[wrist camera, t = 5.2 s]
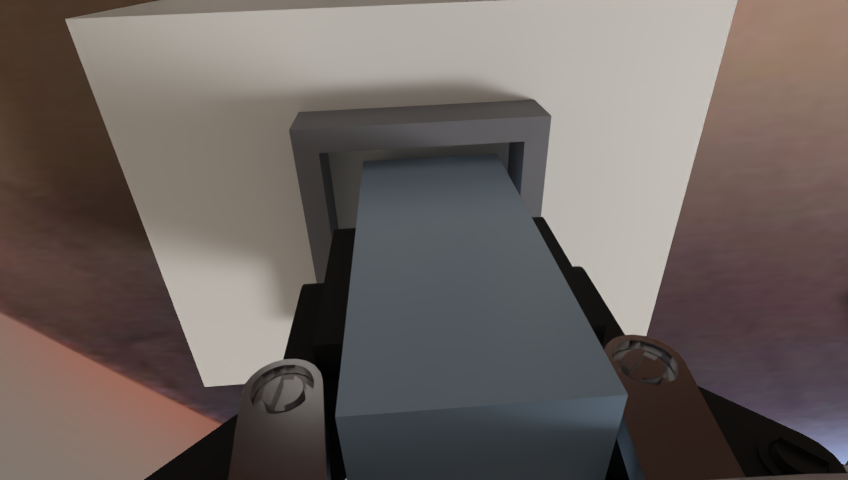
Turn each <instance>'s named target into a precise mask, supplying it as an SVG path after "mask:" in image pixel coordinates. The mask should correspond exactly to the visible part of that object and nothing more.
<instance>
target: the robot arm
mask: <svg viewBox="0 0 848 480" xmlns="http://www.w3.org/2000/svg"><path fill="white" fill-rule="evenodd" d="M532 219H533V221H534V223H535V224H536V226H537V228H538V230H539V232H540V234H541V236H542V237H543V239H544V241H545V243H546V245H547V247H548V248H549V250H550V252H551V254H552V256H553V258H554V259H555V261H556V263H557V265H558V267H559V269H560V270H561V272H562V274H563V276H564V278H565V280H566V281H567V283H568V285H569V287H570V289H571V291H572V292H573V294H574V296H575V298H576V300H577V302H578V304H579V305H580V307H581V309H582V311H583V313H584V315H585V316H586V318H587V320H588V322H589V324H590V326H591V327H592V329H593V331H594V333H595V335H596V337H597V338H598V340H599V342H600V344H601V346H602V348H603V349H604V351H605V353H606V355H607V357H608V359H609V361H610V362H611V364H612V366H613V368H614V370H615V372H616V373H617V375H618V377H619V379H620V381H621V383H622V384H623V386H624V388H625V390H626V392H627V394H628V397H627V401H626V404H625V408H624V412H623V415H622V419H621V422H620V426H619V430H618V433H617V437H616V441H615V444H614V448H613V451H612V455H611V459H610V462H609V466H608V470H607V473H606V477H605V480H848V461H847V463H846V464H845V465H843V464H841V463H840V462H839V460H838V459H837V458H836V457H835V456H834V455H833V454H832V453H831V452H829V451H828V450H827V449H826V448H824V447H823V446H822V445H821V444H819V443H818V442H816V441H814V440H812V439H810V438H809V437H807V436H805V435H803V434H801V433H799V432H797V431H795V430H792V429H790V428H788V427H786V426H784V425H782V424H779V423H777V422H775V421H773V420H771V419H768V418H766V417H764V416H762V415H760V414H758V413H755V412H753V411H751V410H749V409H747V408H745V407H742V406H740V405H738V404H736V403H734V402H731V401H729V400H727V399H725V398H723V397H721V396H718V395H716V394H714V393H712V392H710V391H708V390H705V389H703V388H701V387H699V386H697V384H696V382H695V380H694V379H693V377H692V375H691V373H690V371H689V369H688V367H687V365H686V363H685V362H684V360H683V359H682V358H681V356H680V355H679V354H678V353H677V352H676V351H674V350H673V349H672V348H671V347H670V346H668V345H666V344H664V343H662V342H660V341H659V340H656V339H653V338H650V337H647V336H641V335H625V334H624V332H623V331H622V329H621V327H620V326H619V324H618V323H617V321H616V319H615V318H614V316H613V315H612V313H611V311H610V310H609V308H608V307H607V305H606V303H605V302H604V300H603V298H602V297H601V295H600V294H599V292H598V290H597V289H596V287H595V286H594V284H593V282H592V281H591V279H590V277H589V276H588V274H587V273H586V271H585V270H584V269H583V267H580V266H574V267H573V266H572V265H571V263H570V261H569V260H568V258H567V256H566V255H565V253H564V251H563V249H562V248H561V246H560V244H559V243H558V241H557V239H556V238H555V236H554V234H553V232H552V231H551V229H550V227H549V226H548V224H547V222H546V221H545V219H544V218H543V217H532ZM355 232H356V228H347V229H334V231H333V237H332V242H331V247H330V253H329V258H328V263H327V269H326V274H325V279H324V283H312V284H304V285H302V288H301V291H300V295H299V299H298V303H297V307H296V311H295V315H294V319H293V322H292V326H291V330H290V334H289V338H288V342H287V346H286V350H285V354H284V358H283V360H280V361H276V362H273V363H270V364H268V365H266V366H264V367H262V368H261V369H259V370H258V371H257V372H256V373H254V374H253V375H252V376H251V377H250V378H249V380H248V381H247V382H246V384H245V385H244V387H243V390H242V393H241V396H240V403H239V410H238V414H237V415H235V416H234V417H232V418H231V419H229V420H228V421H227V422H225V423H224V424H222V425H221V426H220V427H218V428H217V429H216V430H214V431H212V432H211V433H210V434H208V435H207V436H206V437H204V438H203V439H201V440H200V441H198V442H197V443H195V444H194V445H193V446H191V447H190V448H188V449H187V450H185V451H184V452H183V453H181V454H180V455H178V456H177V457H176V458H175V459H173V460H171V461H170V462H169V463H167V464H166V465H164V466H163V467H162V468H160V469H159V470H157V471H156V472H154V473H153V474H152V475H150V476H149V477H147V478H146V479H144V480H345V479H346V478H347V476H346V471H345V466H344V461H343V456H342V450H341V445H340V440H339V435H338V430H337V424H336V419H335V413H336V404H337V395H338V386H339V377H340V368H341V359H342V350H343V341H344V332H345V323H346V314H347V305H348V296H349V287H350V277H351V268H352V259H353V250H354V241H355Z"/></svg>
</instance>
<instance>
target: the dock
mask: <svg viewBox="0 0 848 480" xmlns="http://www.w3.org/2000/svg"><path fill="white" fill-rule="evenodd" d="M736 4H737V0H158V1H153V2H148V3H143V4H138V5H133V6H128V7H123V8H118V9H113V10H108V11H103V12H98V13H93V14H88V15H83V16H77V17H72V18H67V19H65V21H66V23H67V26H68V29H69V31H70V34H71V36H72V39H73V42H74V44H75V47H76V50H77V52H78V55H79V57H80V60H81V63H82V65H83V68H84V71H85V73H86V76H87V78H88V81H89V84H90V86H91V89H92V92H93V94H94V97H95V100H96V102H97V105H98V107H99V110H100V113H101V115H102V118H103V121H104V123H105V126H106V128H107V131H108V134H109V136H110V139H111V142H112V144H113V147H114V149H115V152H116V155H117V157H118V160H119V163H120V165H121V168H122V170H123V173H124V176H125V178H126V181H127V184H128V186H129V189H130V192H131V194H132V197H133V199H134V202H135V205H136V207H137V210H138V213H139V215H140V218H141V220H142V223H143V226H144V228H145V231H146V234H147V236H148V239H149V241H150V244H151V247H152V249H153V252H154V255H155V257H156V260H157V263H158V265H159V268H160V270H161V273H162V276H163V278H164V281H165V284H166V286H167V289H168V291H169V294H170V297H171V299H172V302H173V305H174V307H175V310H176V312H177V315H178V318H179V320H180V323H181V326H182V328H183V331H184V333H185V336H186V339H187V341H188V344H189V347H190V349H191V352H192V355H193V357H194V360H195V362H196V365H197V368H198V370H199V373H200V376H201V378H202V381H203V383H204V386H205V387H210V386H223V385H236V384H246V382H247V381H248V380H249V378H250V377H251V376H252V375H253V374H254V373H256V372H257V371H258V370H259V369H261V368H262V367H264V366H266V365H268V364H270V363H273V362H276V361H280V360H283V358H284V354H285V350H286V346H287V342H288V338H289V334H290V330H291V326H292V322H293V319H294V315H295V311H296V307H297V303H298V299H299V295H300V291H301V288H302V285H304V284H312V283H324V279H325V274H326V269H327V263H328V258H329V253H330V247H331V242H332V237H333V231H334V229H347V228H356V223H357V214H358V205H359V196H360V187H361V178H362V169H363V161H371V160H389V159H407V158H425V157H444V156H462V155H480V154H497V155H498V156H499V158H500V160H501V162H502V164H503V166H504V168H505V169H506V171H507V173H508V175H509V177H510V179H511V180H512V182H513V184H514V186H515V188H516V190H517V191H518V193H519V195H520V197H521V199H522V201H523V202H524V204H525V206H526V208H527V210H528V212H529V213H530V215H531V217H543V218H544V219H545V221H546V222H547V224H548V226H549V227H550V229H551V231H552V232H553V234H554V236H555V238H556V239H557V241H558V243H559V244H560V246H561V248H562V249H563V251H564V253H565V255H566V256H567V258H568V260H569V261H570V263H571V265H572V266H573V267H574V266H580V267H583V269H584V270H585V271H586V273H587V274H588V276H589V277H590V279H591V281H592V282H593V284H594V286H595V287H596V289H597V290H598V292H599V294H600V295H601V297H602V298H603V300H604V302H605V303H606V305H607V307H608V308H609V310H610V311H611V313H612V315H613V316H614V318H615V319H616V321H617V323H618V324H619V326H620V327H621V329H622V331H623V332H624V334H625V335H641V336H646V335H647V331H648V327H649V324H650V320H651V316H652V313H653V309H654V305H655V302H656V298H657V294H658V291H659V287H660V283H661V280H662V276H663V272H664V269H665V265H666V261H667V258H668V254H669V250H670V247H671V243H672V239H673V235H674V232H675V228H676V224H677V221H678V217H679V213H680V210H681V206H682V202H683V199H684V195H685V191H686V188H687V184H688V180H689V177H690V173H691V169H692V166H693V162H694V158H695V155H696V151H697V147H698V143H699V140H700V136H701V132H702V129H703V125H704V121H705V118H706V114H707V110H708V107H709V103H710V99H711V96H712V92H713V88H714V85H715V81H716V77H717V74H718V70H719V66H720V63H721V59H722V55H723V52H724V48H725V44H726V40H727V37H728V33H729V29H730V26H731V22H732V18H733V15H734V11H735V7H736Z"/></svg>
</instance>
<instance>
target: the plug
mask: <svg viewBox="0 0 848 480" xmlns="http://www.w3.org/2000/svg"><path fill="white" fill-rule="evenodd" d="M627 397H628V394H627V392H626V390H625V388H624V386H623V384H622V383H621V381H620V379H619V377H618V375H617V373H616V372H615V370H614V368H613V366H612V364H611V362H610V361H609V359H608V357H607V355H606V353H605V351H604V349H603V348H602V346H601V344H600V342H599V340H598V338H597V337H596V335H595V333H594V331H593V329H592V327H591V326H590V324H589V322H588V320H587V318H586V316H585V315H584V313H583V311H582V309H581V307H580V305H579V304H578V302H577V300H576V298H575V296H574V294H573V292H572V291H571V289H570V287H569V285H568V283H567V281H566V280H565V278H564V276H563V274H562V272H561V270H560V269H559V267H558V265H557V263H556V261H555V259H554V258H553V256H552V254H551V252H550V250H549V248H548V247H547V245H546V243H545V241H544V239H543V237H542V236H541V234H540V232H539V230H538V228H537V226H536V224H535V223H534V221H533V219H532V217H531V215H530V213H529V212H528V210H527V208H526V206H525V204H524V202H523V201H522V199H521V197H520V195H519V193H518V191H517V190H516V188H515V186H514V184H513V182H512V180H511V179H510V177H509V175H508V173H507V171H506V169H505V168H504V166H503V164H502V162H501V160H500V158H499V156H498V155H497V154H480V155H462V156H444V157H425V158H407V159H389V160H371V161H363V169H362V178H361V187H360V196H359V205H358V214H357V223H356V232H355V241H354V250H353V259H352V268H351V277H350V287H349V296H348V305H347V314H346V323H345V332H344V341H343V350H342V359H341V368H340V377H339V386H338V395H337V404H336V413H335V419H336V424H337V430H338V435H339V440H340V445H341V450H342V456H343V461H344V466H345V471H346V476H347V480H605V477H606V473H607V470H608V466H609V462H610V459H611V455H612V451H613V448H614V444H615V441H616V437H617V433H618V430H619V426H620V422H621V419H622V415H623V412H624V408H625V404H626V401H627Z"/></svg>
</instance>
